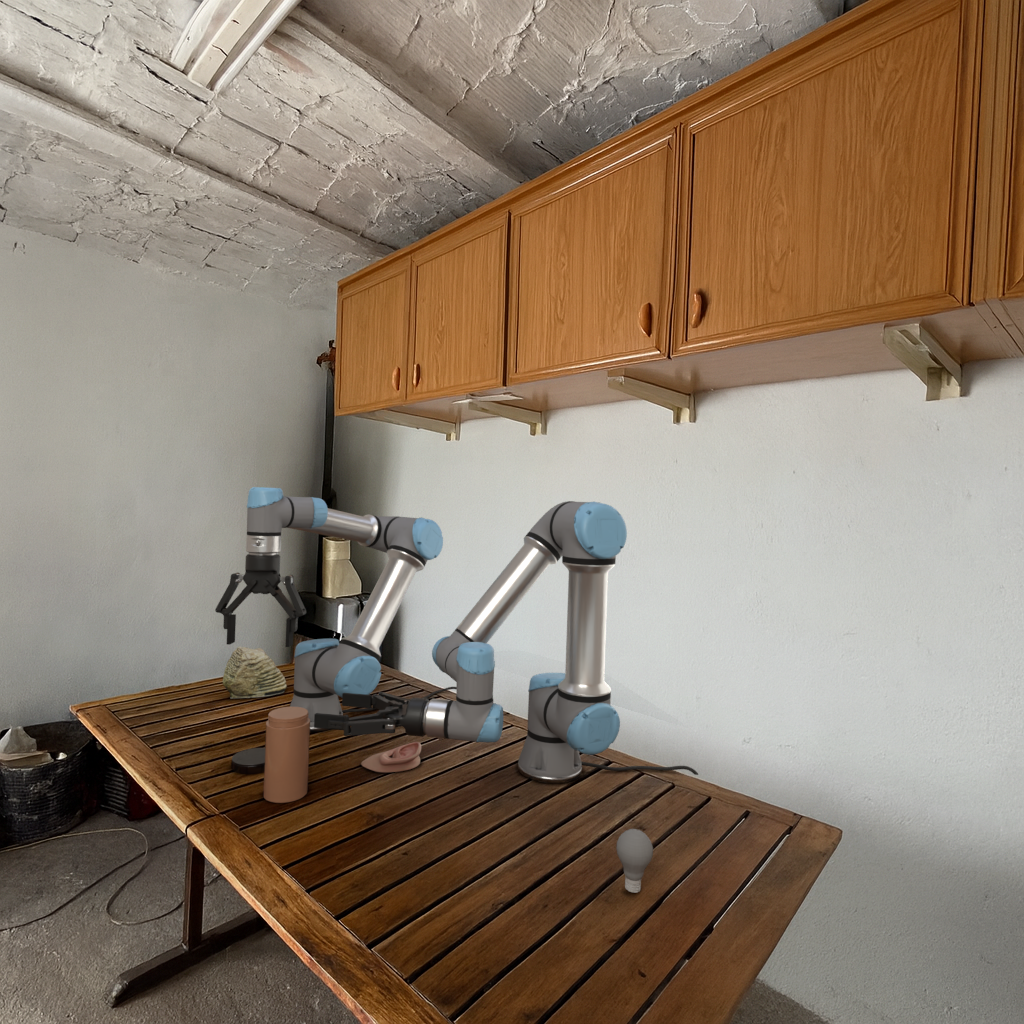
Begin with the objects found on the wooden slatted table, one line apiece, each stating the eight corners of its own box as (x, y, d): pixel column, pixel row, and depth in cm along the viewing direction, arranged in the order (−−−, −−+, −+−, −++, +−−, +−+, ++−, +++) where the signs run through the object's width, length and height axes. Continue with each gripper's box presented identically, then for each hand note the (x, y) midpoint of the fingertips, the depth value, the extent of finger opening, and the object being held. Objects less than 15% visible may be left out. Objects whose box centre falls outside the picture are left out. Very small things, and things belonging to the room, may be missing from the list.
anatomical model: (355, 752, 147) (376, 734, 159) (355, 769, 147) (375, 750, 159) (409, 759, 145) (426, 741, 156) (409, 776, 145) (425, 757, 156)
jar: (304, 781, 141) (307, 704, 140) (310, 798, 133) (313, 717, 132) (261, 787, 137) (264, 708, 137) (265, 806, 129) (268, 721, 129)
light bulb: (610, 879, 108) (613, 822, 108) (644, 879, 109) (647, 822, 109) (619, 902, 102) (622, 840, 102) (655, 901, 103) (658, 840, 103)
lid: (236, 777, 141) (236, 768, 141) (227, 761, 149) (227, 752, 149) (282, 768, 147) (282, 759, 146) (270, 753, 155) (271, 744, 155)
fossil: (218, 695, 195) (220, 647, 195) (278, 685, 208) (279, 640, 207) (228, 703, 189) (230, 653, 188) (289, 692, 201) (290, 645, 201)
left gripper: (201, 552, 143) (198, 645, 144) (311, 557, 143) (308, 650, 144) (217, 550, 151) (213, 638, 151) (321, 554, 151) (318, 643, 151)
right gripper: (408, 760, 118) (301, 750, 121) (442, 715, 142) (352, 707, 145) (409, 720, 118) (302, 711, 121) (443, 682, 142) (353, 675, 145)
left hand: (259, 644), depth 147 cm, fingers open, 13 cm apart
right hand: (329, 709), depth 133 cm, fingers open, 13 cm apart
